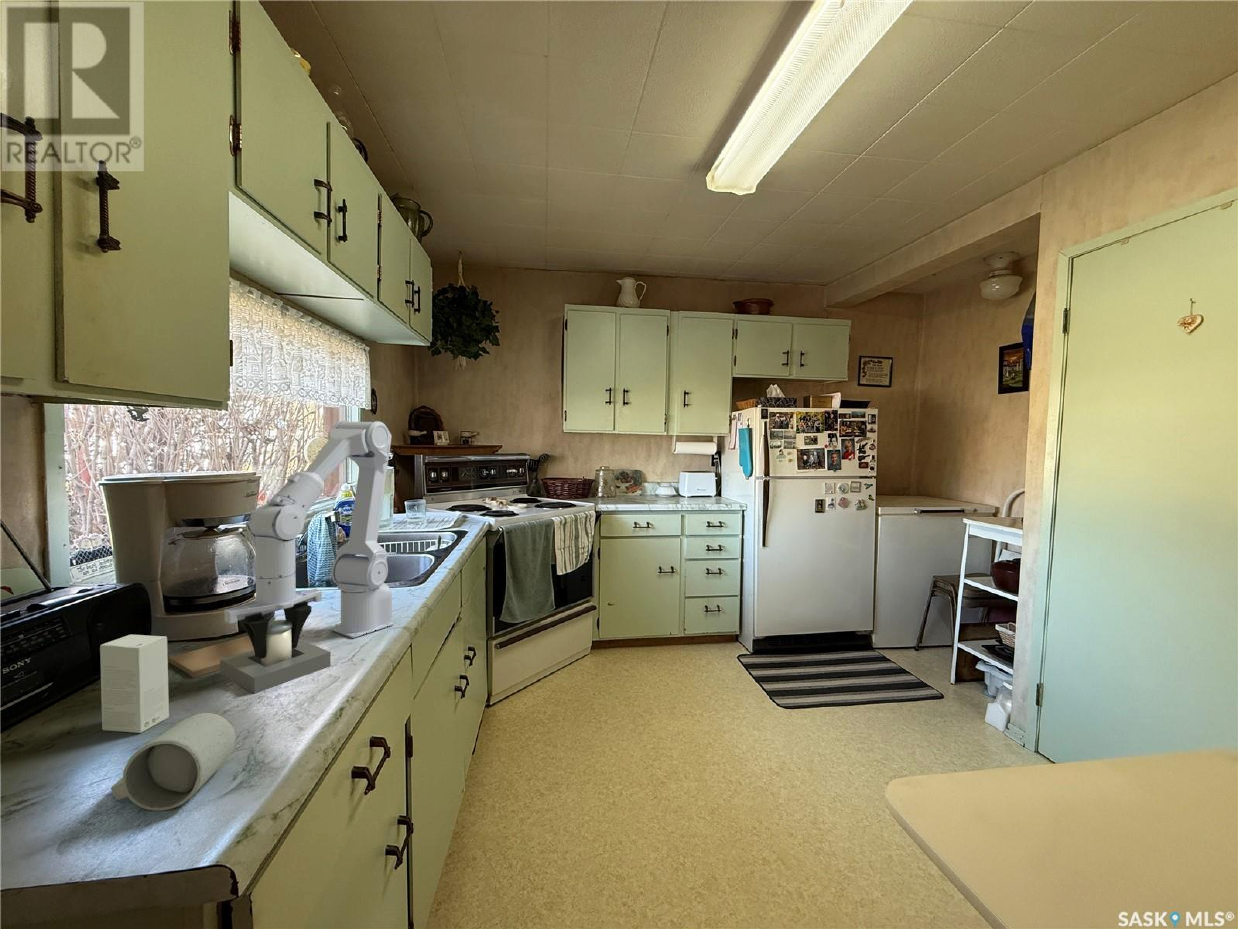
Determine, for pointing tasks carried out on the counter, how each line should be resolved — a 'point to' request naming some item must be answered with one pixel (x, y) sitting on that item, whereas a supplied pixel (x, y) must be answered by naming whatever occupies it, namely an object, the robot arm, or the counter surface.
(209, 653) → the board
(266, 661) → the cartridge
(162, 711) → the skincare box
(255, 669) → the housing
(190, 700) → the counter surface
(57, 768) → the counter surface
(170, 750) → the ceramic mug
